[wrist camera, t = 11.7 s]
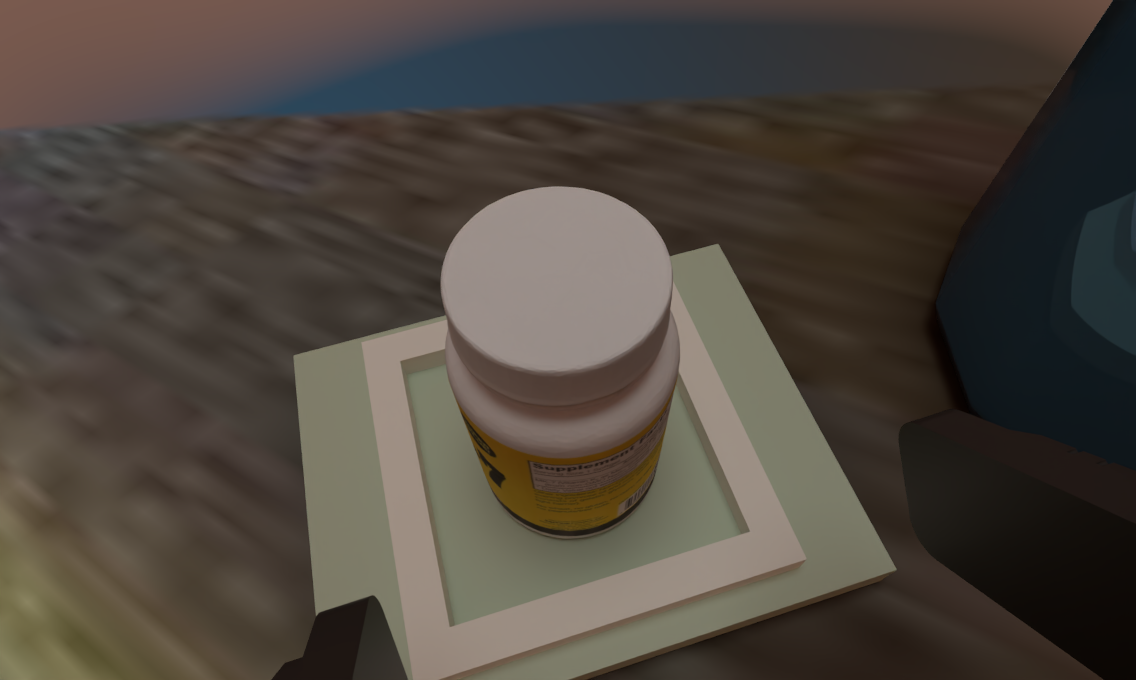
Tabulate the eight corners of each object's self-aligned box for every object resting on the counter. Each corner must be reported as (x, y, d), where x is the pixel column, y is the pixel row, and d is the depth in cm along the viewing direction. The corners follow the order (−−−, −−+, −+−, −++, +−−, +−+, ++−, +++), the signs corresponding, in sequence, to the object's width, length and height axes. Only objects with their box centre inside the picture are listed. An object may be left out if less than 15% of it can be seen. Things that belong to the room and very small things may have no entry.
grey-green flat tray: (346, 760, 16) (315, 759, 14) (307, 374, 22) (283, 341, 20) (879, 581, 18) (909, 561, 16) (713, 266, 23) (721, 227, 22)
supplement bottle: (475, 395, 20) (408, 187, 12) (633, 367, 20) (656, 148, 13) (496, 560, 17) (427, 418, 10) (677, 525, 17) (736, 362, 10)
